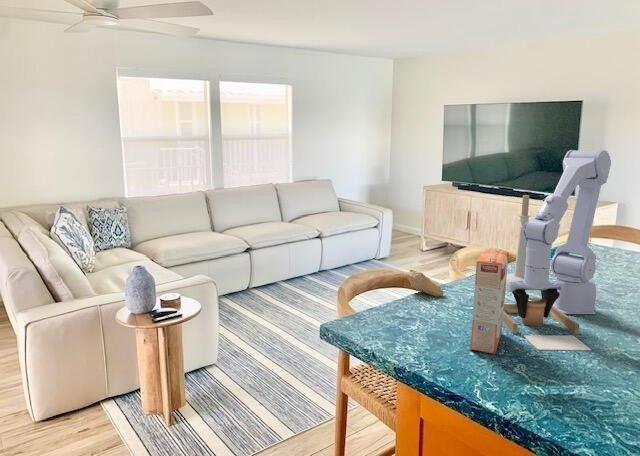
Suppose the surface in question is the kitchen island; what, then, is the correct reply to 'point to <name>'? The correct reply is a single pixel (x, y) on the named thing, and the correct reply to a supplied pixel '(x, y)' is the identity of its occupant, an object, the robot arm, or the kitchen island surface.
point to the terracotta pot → (534, 312)
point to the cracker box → (489, 300)
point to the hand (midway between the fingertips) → (533, 316)
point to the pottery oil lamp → (424, 283)
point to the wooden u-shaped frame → (554, 313)
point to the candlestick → (521, 245)
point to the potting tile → (556, 342)
